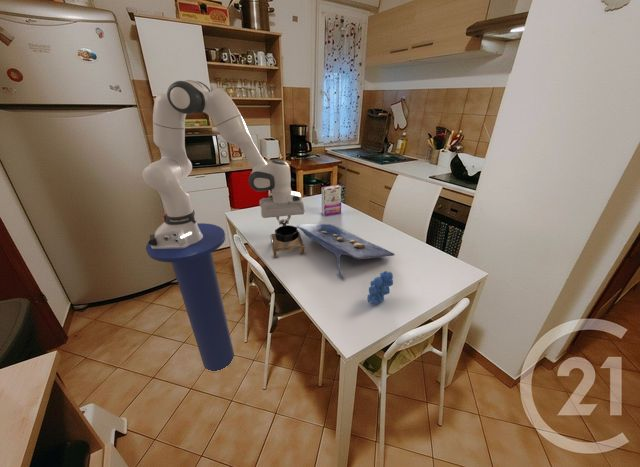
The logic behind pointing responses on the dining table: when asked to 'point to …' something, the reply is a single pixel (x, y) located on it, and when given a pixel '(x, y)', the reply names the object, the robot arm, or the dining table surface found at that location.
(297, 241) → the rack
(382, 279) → the grapes
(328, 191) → the candy bar box
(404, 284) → the dining table surface
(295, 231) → the pan
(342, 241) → the blue piece
